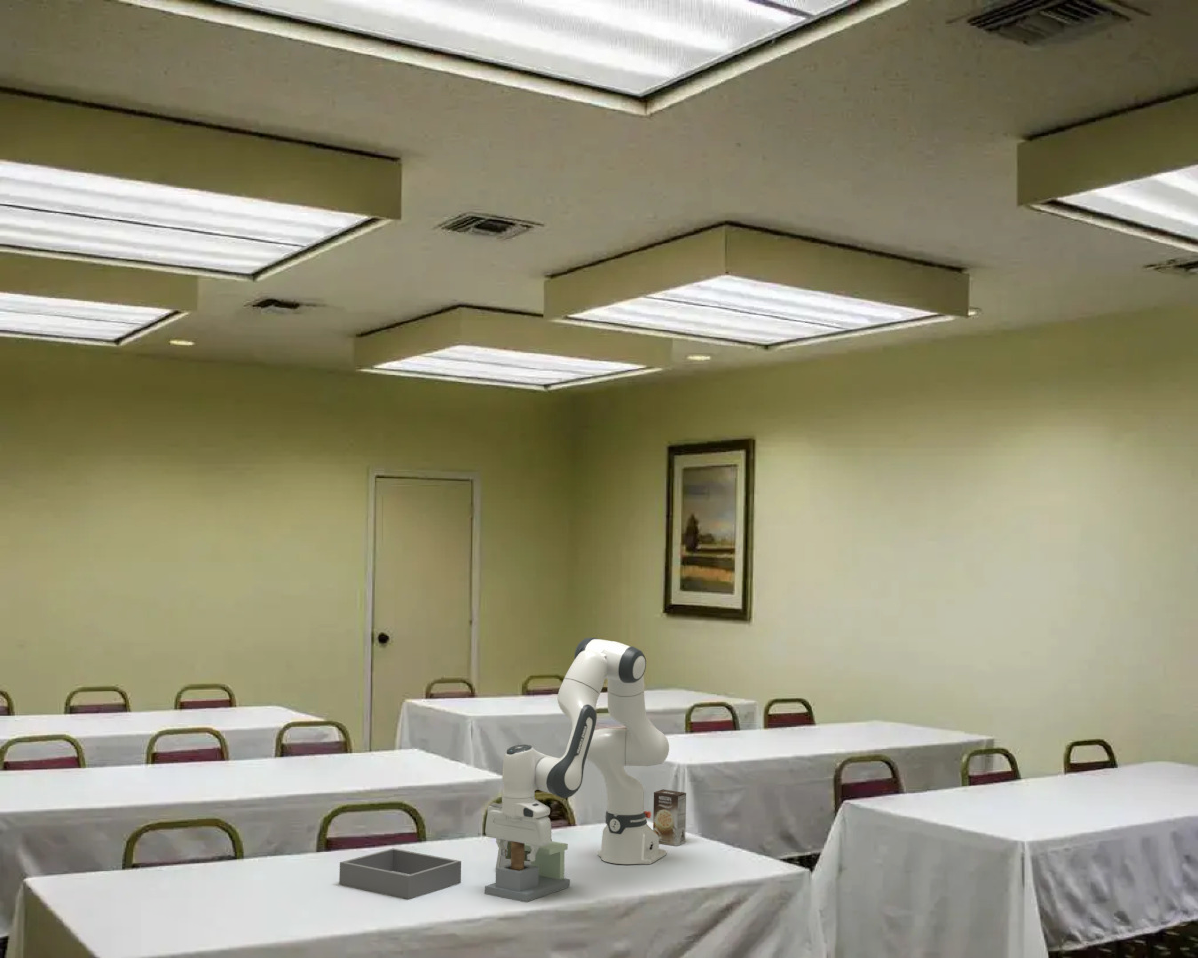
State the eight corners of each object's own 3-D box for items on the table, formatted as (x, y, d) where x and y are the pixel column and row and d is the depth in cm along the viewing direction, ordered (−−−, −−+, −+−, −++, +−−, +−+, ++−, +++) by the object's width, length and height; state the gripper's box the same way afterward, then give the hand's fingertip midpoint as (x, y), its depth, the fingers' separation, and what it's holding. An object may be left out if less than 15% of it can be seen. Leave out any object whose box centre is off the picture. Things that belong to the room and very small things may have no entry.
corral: (392, 869, 371) (393, 848, 371) (460, 882, 357) (461, 860, 357) (339, 884, 353) (339, 862, 353) (408, 899, 339) (409, 876, 339)
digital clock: (492, 871, 370) (493, 834, 370) (510, 865, 378) (511, 829, 378) (539, 880, 361) (539, 841, 362) (556, 873, 369) (557, 836, 370)
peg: (507, 886, 346) (508, 841, 347) (515, 883, 349) (516, 838, 350) (518, 888, 344) (519, 843, 345) (526, 885, 347) (527, 840, 348)
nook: (529, 878, 362) (530, 837, 363) (569, 886, 355) (570, 844, 355) (484, 893, 346) (485, 850, 347) (526, 901, 338) (527, 857, 339)
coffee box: (651, 842, 411) (652, 791, 412) (661, 838, 416) (662, 788, 417) (676, 846, 406) (677, 794, 407) (686, 842, 411) (687, 792, 412)
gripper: (480, 803, 351) (479, 854, 350) (541, 813, 339) (540, 866, 339) (495, 799, 356) (494, 850, 355) (555, 809, 345) (554, 861, 344)
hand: (517, 858), depth 347 cm, fingers open, 8 cm apart
